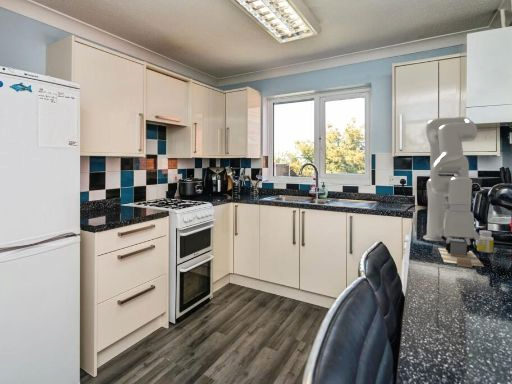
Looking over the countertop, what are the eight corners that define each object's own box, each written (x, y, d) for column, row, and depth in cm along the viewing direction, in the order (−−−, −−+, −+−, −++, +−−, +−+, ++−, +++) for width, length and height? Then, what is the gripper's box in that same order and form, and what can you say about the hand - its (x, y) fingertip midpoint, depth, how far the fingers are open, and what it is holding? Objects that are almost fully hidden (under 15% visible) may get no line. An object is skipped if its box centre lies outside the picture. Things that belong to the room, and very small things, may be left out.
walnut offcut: (456, 262, 110) (457, 258, 109) (469, 263, 108) (470, 259, 107) (458, 270, 107) (458, 265, 106) (471, 271, 105) (472, 267, 104)
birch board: (437, 251, 131) (438, 247, 131) (471, 254, 125) (471, 251, 125) (443, 265, 111) (444, 261, 111) (484, 270, 106) (484, 266, 106)
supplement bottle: (489, 253, 128) (490, 230, 127) (495, 256, 123) (496, 232, 122) (474, 252, 129) (475, 229, 129) (479, 255, 124) (480, 232, 124)
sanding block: (448, 250, 127) (448, 238, 126) (462, 251, 124) (463, 239, 124) (450, 255, 119) (451, 242, 119) (466, 256, 117) (466, 243, 117)
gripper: (435, 208, 121) (433, 253, 122) (487, 210, 113) (485, 258, 115) (433, 206, 127) (431, 248, 129) (483, 208, 120) (480, 253, 121)
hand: (457, 252), depth 122 cm, fingers closed on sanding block, 5 cm apart
